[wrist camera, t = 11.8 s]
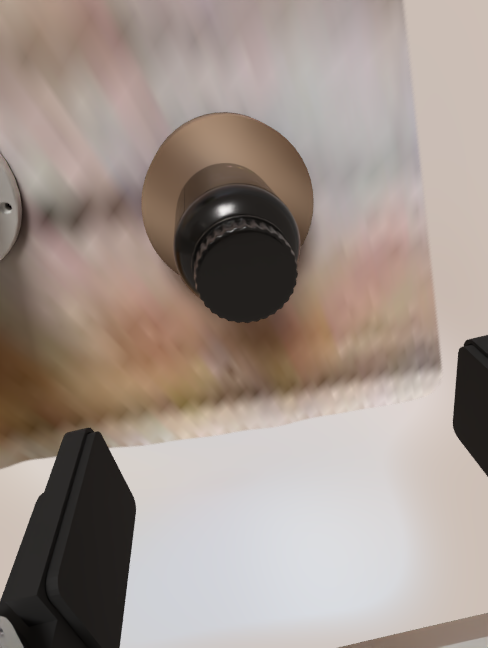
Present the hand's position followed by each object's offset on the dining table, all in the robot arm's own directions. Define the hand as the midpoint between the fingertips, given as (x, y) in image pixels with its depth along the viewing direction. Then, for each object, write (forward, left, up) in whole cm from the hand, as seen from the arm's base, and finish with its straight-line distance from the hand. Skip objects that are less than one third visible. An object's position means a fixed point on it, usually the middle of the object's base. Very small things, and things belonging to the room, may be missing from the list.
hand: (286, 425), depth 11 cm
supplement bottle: (0, 0, -22) cm, 22 cm away
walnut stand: (0, 0, -25) cm, 25 cm away
